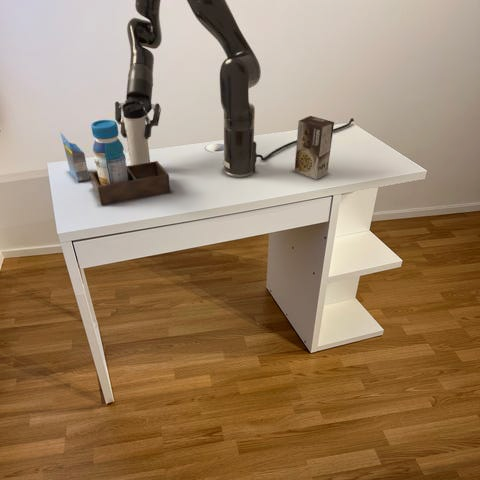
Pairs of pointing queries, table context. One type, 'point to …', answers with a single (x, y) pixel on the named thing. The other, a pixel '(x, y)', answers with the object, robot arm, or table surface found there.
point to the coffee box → (313, 146)
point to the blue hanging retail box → (76, 160)
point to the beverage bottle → (108, 153)
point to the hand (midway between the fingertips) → (135, 137)
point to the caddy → (133, 184)
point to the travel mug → (136, 132)
